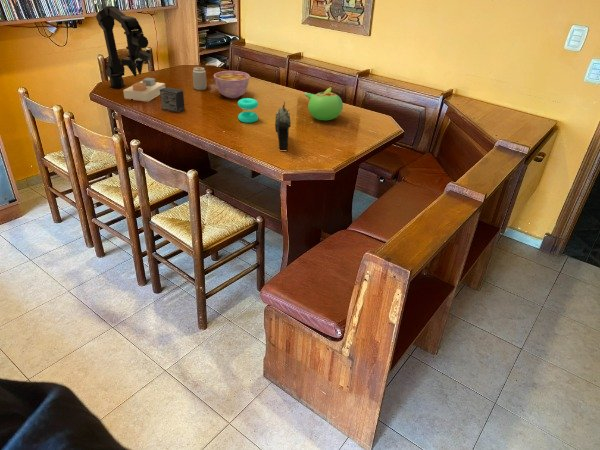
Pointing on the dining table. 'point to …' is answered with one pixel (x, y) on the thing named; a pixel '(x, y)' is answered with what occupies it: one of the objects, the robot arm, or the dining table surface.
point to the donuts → (248, 105)
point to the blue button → (149, 81)
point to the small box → (172, 99)
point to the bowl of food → (231, 83)
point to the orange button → (139, 86)
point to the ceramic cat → (283, 127)
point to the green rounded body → (324, 105)
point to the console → (144, 92)
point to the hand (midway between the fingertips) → (137, 75)
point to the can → (199, 78)
